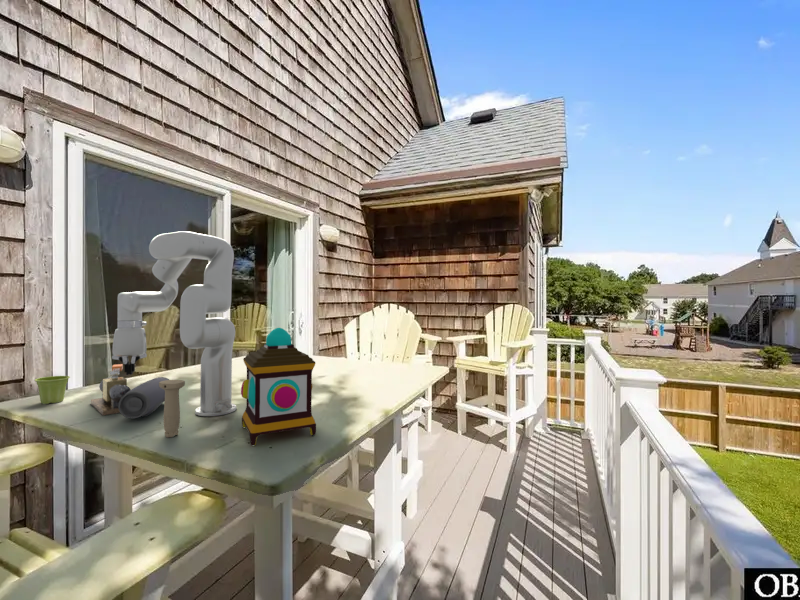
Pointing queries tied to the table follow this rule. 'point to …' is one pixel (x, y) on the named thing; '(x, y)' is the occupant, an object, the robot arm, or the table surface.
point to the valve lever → (116, 369)
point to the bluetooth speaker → (142, 399)
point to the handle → (171, 406)
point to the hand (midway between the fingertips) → (129, 374)
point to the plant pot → (52, 388)
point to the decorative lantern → (277, 388)
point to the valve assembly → (110, 395)
